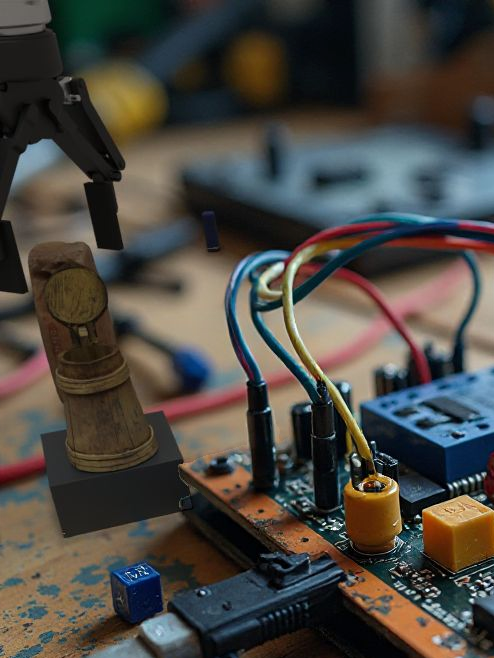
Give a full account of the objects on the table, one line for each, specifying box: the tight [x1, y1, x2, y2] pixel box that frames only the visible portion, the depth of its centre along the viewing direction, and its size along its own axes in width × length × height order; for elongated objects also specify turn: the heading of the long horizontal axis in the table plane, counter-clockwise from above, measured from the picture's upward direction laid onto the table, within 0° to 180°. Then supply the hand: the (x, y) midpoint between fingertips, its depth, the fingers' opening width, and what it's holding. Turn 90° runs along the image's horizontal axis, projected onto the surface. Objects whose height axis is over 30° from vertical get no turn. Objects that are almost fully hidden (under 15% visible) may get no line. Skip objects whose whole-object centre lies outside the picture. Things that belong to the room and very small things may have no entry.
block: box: [27, 240, 118, 406], centre depth 132 cm, size 11×8×20 cm
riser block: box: [39, 410, 192, 539], centre depth 114 cm, size 13×13×6 cm
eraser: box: [201, 210, 221, 253], centre depth 191 cm, size 2×2×7 cm
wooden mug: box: [44, 260, 158, 472], centre depth 109 cm, size 9×14×18 cm, turn 22°
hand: (65, 269), depth 103 cm, fingers open, 13 cm apart
